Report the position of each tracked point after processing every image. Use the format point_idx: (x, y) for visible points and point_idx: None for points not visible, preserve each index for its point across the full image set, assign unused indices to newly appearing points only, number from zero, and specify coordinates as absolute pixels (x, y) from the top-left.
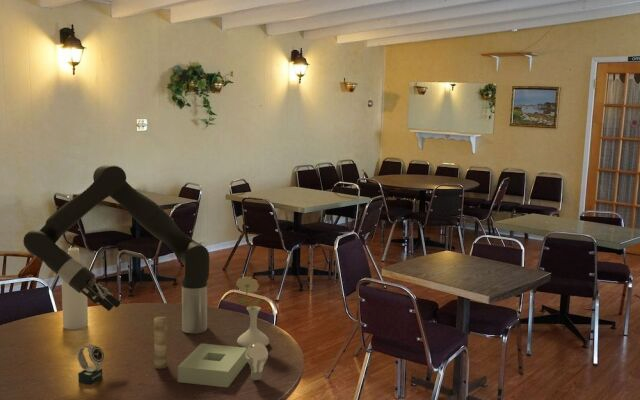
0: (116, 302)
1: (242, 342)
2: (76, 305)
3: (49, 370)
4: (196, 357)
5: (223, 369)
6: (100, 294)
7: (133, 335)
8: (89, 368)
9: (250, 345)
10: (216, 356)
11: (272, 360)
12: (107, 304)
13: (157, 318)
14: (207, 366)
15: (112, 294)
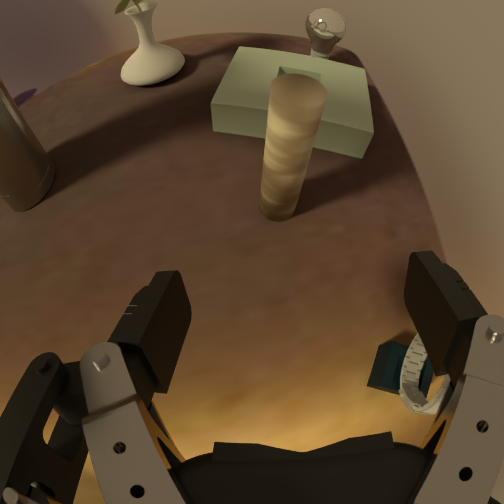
0: (175, 305)
1: (169, 68)
2: None
3: None
4: None
5: (357, 72)
6: (499, 372)
7: (33, 336)
8: (407, 376)
9: (330, 16)
10: None
11: (229, 49)
12: (463, 286)
13: (298, 95)
14: (353, 89)
15: (96, 347)
